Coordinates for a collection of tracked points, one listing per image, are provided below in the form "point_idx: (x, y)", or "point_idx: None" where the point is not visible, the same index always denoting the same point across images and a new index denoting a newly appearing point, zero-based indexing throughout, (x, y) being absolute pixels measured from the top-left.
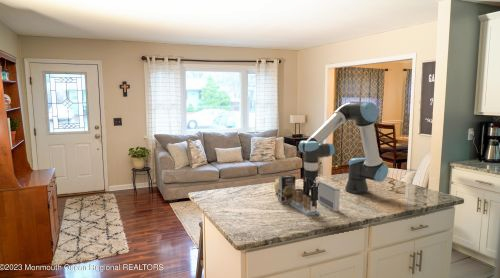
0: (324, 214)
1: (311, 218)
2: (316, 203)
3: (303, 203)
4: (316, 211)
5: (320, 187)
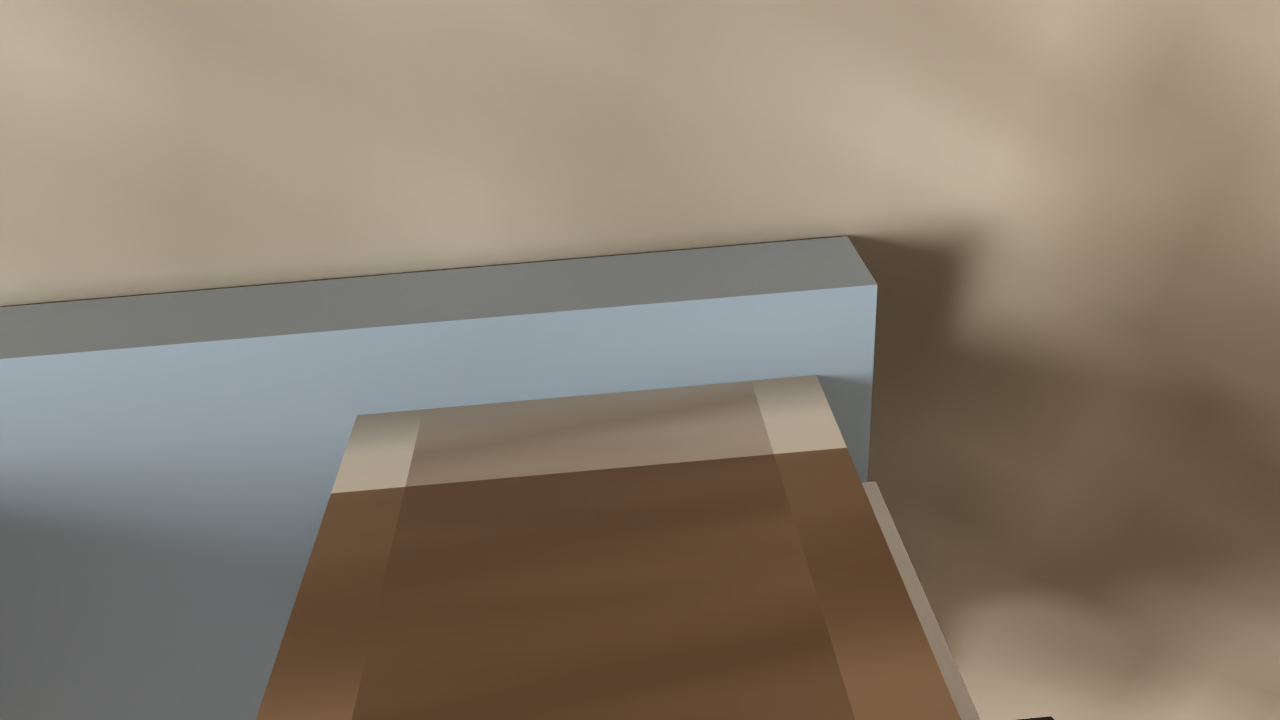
0: (964, 23)
1: (1102, 628)
2: (929, 676)
3: None
4: (829, 394)
5: None
